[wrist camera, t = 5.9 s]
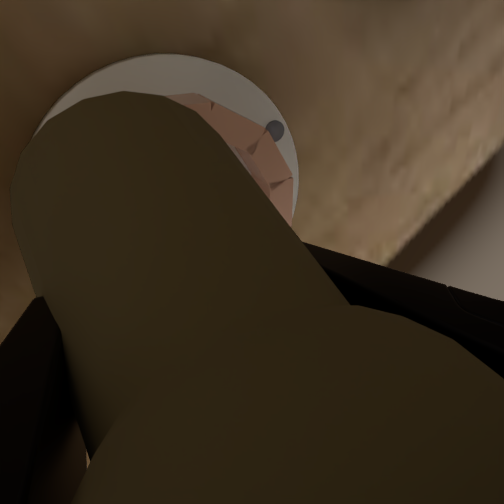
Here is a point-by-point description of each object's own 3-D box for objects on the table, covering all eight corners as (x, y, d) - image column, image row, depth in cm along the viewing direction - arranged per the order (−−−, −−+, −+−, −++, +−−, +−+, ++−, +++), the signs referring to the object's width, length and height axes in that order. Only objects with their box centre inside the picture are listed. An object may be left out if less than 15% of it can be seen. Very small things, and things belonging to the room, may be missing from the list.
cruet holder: (295, 43, 20) (330, 49, 18) (287, 277, 26) (311, 303, 24) (-29, 66, 15) (-37, 78, 13) (62, 343, 22) (67, 381, 20)
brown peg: (205, 303, 14) (477, 757, 6) (-4, 295, 11) (-72, 1236, 3) (265, 125, 12) (829, 435, 4) (25, 55, 9) (127, 999, 1)
